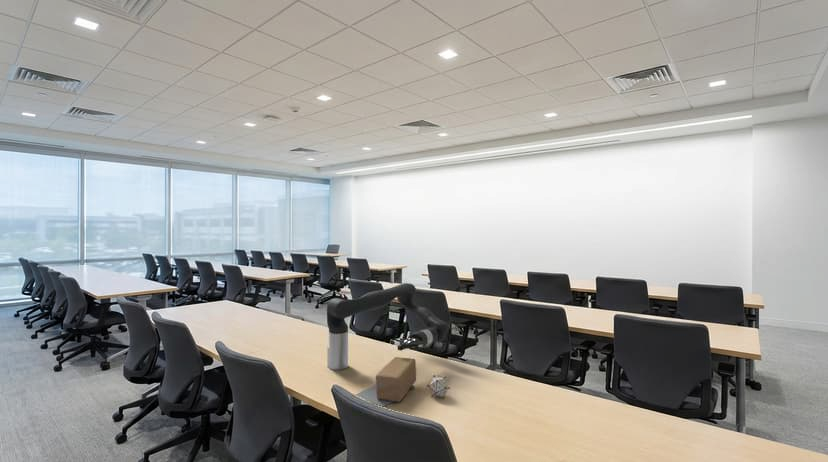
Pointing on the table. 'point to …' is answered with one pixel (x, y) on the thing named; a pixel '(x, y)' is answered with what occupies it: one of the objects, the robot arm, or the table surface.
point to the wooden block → (396, 379)
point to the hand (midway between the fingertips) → (399, 348)
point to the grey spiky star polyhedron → (438, 387)
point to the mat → (371, 396)
